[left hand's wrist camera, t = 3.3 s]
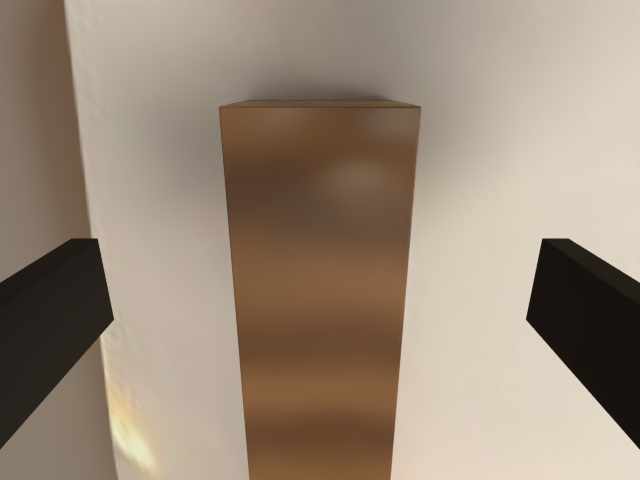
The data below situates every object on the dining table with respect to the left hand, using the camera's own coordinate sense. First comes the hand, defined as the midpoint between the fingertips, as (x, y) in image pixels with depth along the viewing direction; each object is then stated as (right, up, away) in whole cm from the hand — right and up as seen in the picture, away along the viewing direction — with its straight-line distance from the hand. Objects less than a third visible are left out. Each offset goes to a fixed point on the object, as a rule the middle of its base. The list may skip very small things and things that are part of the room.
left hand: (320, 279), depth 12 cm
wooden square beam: (0, -15, +22) cm, 27 cm away
